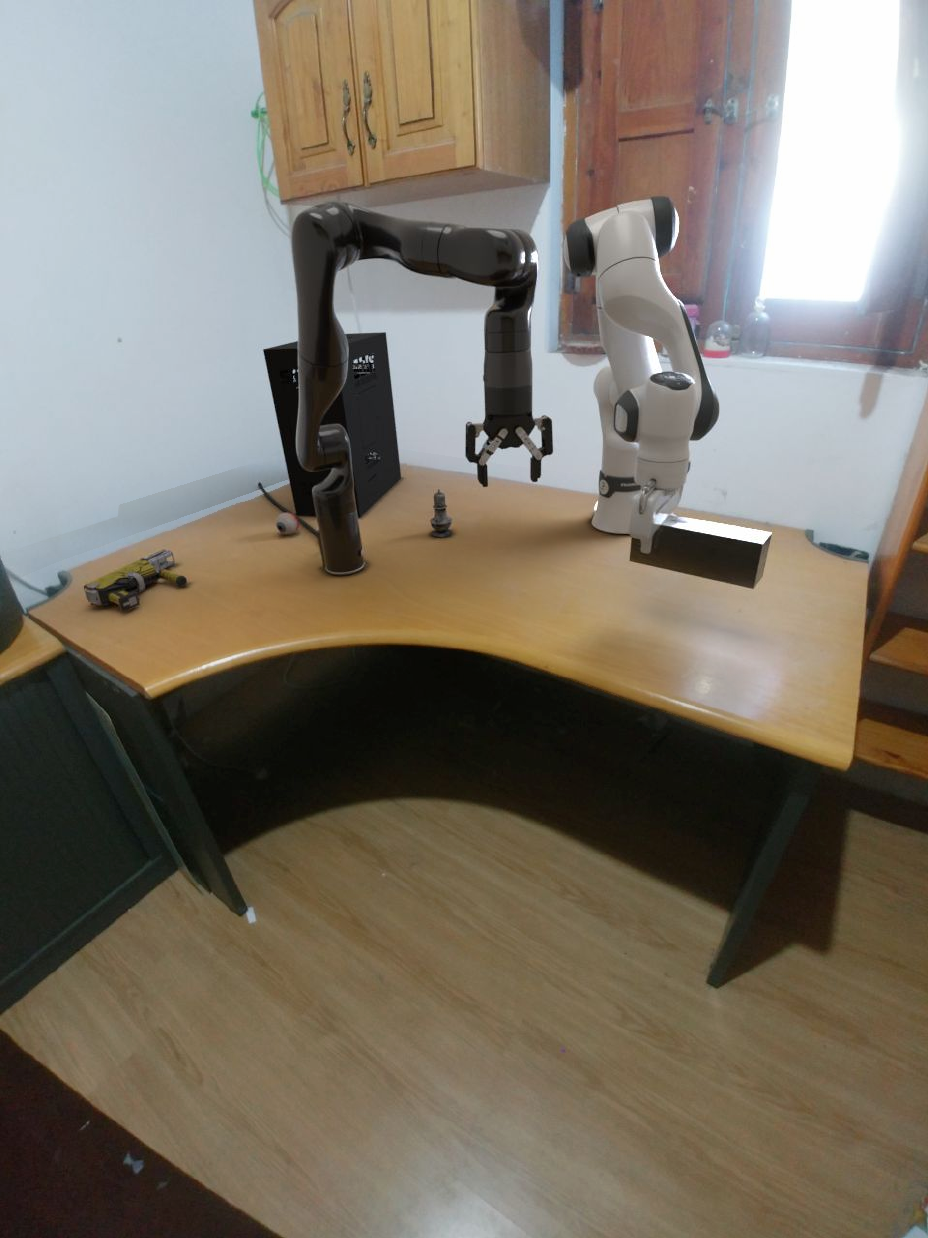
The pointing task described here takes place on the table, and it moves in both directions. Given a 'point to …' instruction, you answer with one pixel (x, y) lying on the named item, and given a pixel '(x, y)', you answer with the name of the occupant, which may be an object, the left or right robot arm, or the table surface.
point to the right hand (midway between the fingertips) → (652, 544)
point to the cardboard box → (342, 420)
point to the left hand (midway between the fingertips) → (509, 483)
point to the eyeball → (287, 523)
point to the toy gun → (132, 581)
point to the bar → (707, 550)
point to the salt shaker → (440, 517)
